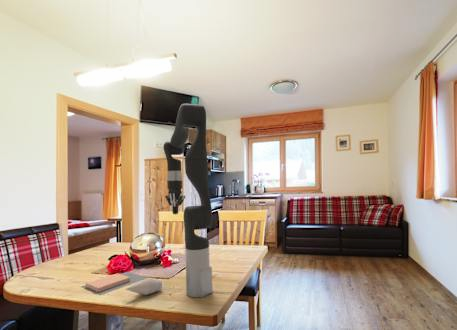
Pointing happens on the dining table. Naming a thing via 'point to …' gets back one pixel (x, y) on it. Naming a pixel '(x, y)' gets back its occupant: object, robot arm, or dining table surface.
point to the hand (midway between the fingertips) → (175, 214)
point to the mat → (133, 279)
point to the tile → (107, 282)
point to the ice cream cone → (146, 286)
